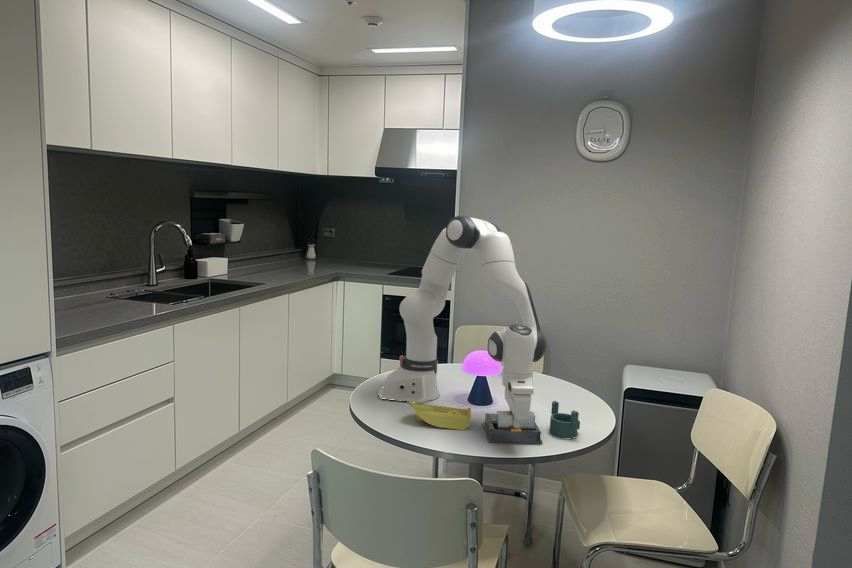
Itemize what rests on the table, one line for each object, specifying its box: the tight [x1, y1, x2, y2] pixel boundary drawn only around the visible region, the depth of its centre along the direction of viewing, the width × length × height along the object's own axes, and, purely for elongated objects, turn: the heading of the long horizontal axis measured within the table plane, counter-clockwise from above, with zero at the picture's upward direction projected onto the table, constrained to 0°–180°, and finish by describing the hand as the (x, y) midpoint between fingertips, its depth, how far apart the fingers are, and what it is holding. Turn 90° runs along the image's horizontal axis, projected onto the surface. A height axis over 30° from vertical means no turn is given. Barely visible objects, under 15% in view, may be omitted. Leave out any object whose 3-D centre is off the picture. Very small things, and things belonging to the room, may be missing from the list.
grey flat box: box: [482, 412, 543, 445], centre depth 171 cm, size 16×14×4 cm
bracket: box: [549, 400, 581, 439], centre depth 173 cm, size 9×9×9 cm
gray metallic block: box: [496, 410, 536, 430], centre depth 167 cm, size 11×4×5 cm, turn 91°
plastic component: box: [408, 400, 472, 431], centre depth 179 cm, size 20×7×10 cm
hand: (514, 424), depth 167 cm, fingers closed on gray metallic block, 4 cm apart
